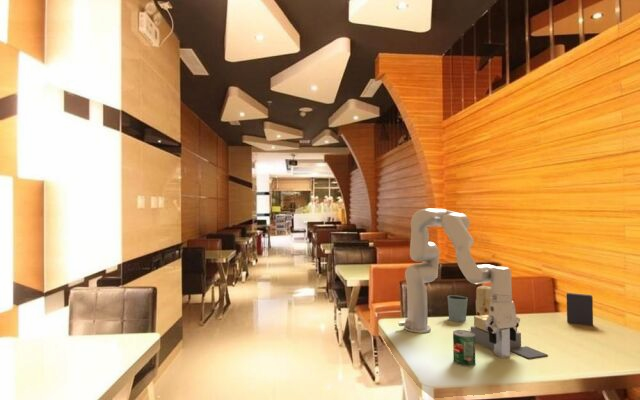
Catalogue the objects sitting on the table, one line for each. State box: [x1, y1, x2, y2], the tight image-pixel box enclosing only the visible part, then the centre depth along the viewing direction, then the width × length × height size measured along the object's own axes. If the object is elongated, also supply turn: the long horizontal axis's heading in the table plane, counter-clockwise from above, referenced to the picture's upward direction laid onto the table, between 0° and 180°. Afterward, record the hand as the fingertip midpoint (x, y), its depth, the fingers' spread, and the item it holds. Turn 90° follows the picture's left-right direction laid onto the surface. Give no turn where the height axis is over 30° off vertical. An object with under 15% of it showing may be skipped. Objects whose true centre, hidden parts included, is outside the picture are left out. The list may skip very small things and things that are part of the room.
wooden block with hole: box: [473, 315, 518, 332], centre depth 163 cm, size 14×12×4 cm
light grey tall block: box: [493, 328, 511, 359], centre depth 149 cm, size 4×4×11 cm
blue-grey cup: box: [447, 294, 469, 323], centre depth 200 cm, size 10×10×12 cm
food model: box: [475, 285, 491, 316], centre depth 188 cm, size 10×7×20 cm
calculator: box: [566, 292, 594, 327], centre depth 194 cm, size 11×4×15 cm, turn 58°
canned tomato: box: [452, 329, 477, 368], centre depth 142 cm, size 8×8×11 cm
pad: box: [510, 345, 549, 360], centre depth 151 cm, size 10×10×1 cm
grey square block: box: [470, 325, 522, 352], centre depth 163 cm, size 14×14×6 cm
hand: (502, 341), depth 149 cm, fingers open, 9 cm apart
